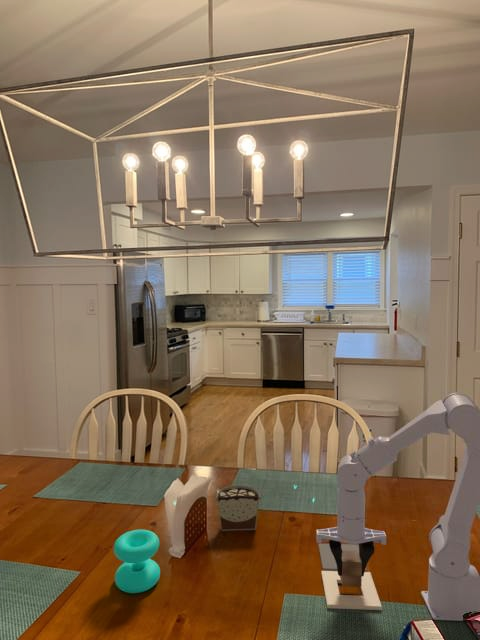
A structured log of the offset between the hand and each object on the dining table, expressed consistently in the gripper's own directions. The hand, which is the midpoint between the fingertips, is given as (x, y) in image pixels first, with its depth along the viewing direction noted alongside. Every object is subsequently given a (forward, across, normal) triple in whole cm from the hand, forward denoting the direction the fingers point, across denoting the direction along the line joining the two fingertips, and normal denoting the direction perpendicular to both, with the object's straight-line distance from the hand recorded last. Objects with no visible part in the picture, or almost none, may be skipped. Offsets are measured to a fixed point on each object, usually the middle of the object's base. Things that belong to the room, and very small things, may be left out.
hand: (350, 573), depth 101 cm
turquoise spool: (+4, +47, -1) cm, 47 cm away
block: (+2, 0, 0) cm, 2 cm away
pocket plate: (+4, 0, 0) cm, 4 cm away
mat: (+4, 0, -12) cm, 13 cm away
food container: (+4, +26, -26) cm, 37 cm away
